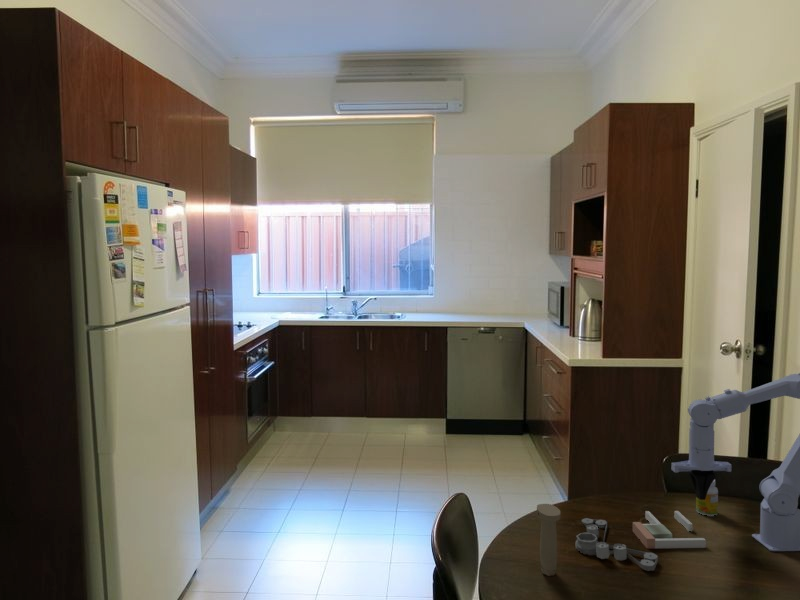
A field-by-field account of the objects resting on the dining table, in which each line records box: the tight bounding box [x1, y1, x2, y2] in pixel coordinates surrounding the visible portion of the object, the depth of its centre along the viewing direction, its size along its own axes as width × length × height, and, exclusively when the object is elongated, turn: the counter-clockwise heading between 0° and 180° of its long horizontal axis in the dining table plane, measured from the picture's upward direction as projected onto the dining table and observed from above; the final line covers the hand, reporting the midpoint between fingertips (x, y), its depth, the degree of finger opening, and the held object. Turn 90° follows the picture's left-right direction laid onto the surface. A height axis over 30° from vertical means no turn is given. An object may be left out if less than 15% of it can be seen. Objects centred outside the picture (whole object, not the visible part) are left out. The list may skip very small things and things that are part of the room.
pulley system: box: [574, 517, 659, 572], centre depth 142 cm, size 27×5×15 cm
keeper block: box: [644, 524, 673, 539], centre depth 145 cm, size 5×5×3 cm
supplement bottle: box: [695, 479, 719, 517], centre depth 159 cm, size 5×5×10 cm
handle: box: [536, 503, 561, 577], centre depth 130 cm, size 5×6×15 cm
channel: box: [642, 510, 707, 549], centre depth 149 cm, size 14×16×2 cm
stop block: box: [632, 521, 656, 549], centre depth 145 cm, size 2×9×2 cm, turn 179°
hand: (700, 498), depth 147 cm, fingers closed
